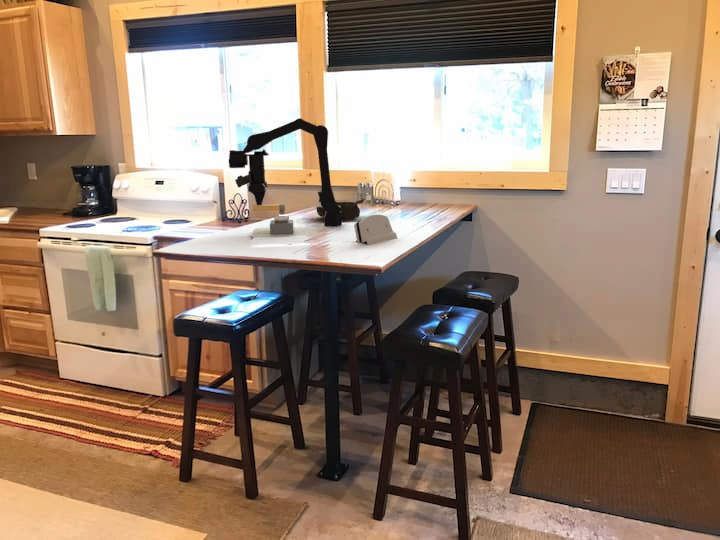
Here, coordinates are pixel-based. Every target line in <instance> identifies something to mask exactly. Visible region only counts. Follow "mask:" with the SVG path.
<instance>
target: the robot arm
mask: <svg viewBox="0 0 720 540" xmlns="http://www.w3.org/2000/svg"><path fill="white" fill-rule="evenodd" d="M299 130H301V131H304V132H306V133H308V134H311V135H313V138H314V142H315V145H316V149H317V152H318V153H317V154H318V165H319V174H320V182H321V187H320V188H321V189H320V190H318V191H317V194H318V203H320V204H321V206H322V207H323V208H324V209H326V211H327V212H325V215H324V217H323V226H324V227H342V226H343V223H342V222H343V221H342V215H341V211H340V210H341V207H340V205H339V204H338V203H337V202H338V201H336V197H335V194H334V190H333V187H332V183H331V175H330V165H329V155H328V142H329V141H328V139H329V130H328V128H327V127H326V126H325V125H323V124H321V125H320V124H319V125H316V124H314V123H311V122H309V121H306V120H304V119H303V118H301V117H299V118H297V119H295V120H293V121H290V122H288V123H285V124H283V125H282V126H278V127H276V128H274V129H271V130H268V131H264V132H260V133H254V134H251V135H249V136H248V137H247V140H246V143H247V144H246V145H245V146H244V147H243V150H234V149H233V150H229V155H228V165H229V168H230V169H245V168H246V166H248V167H249V168H248V169H249V171H248V174H246V175H244V176H243V175H241V174H240V175H238V176H237V178H236V179H235V180H234V182H235V184H236V186H237V188H242V187H243V186H246V185H247V184H248V186H247V189H248V190H247V191H248V193H251V194H252V195H253V197H254V199H255V202H256V205H263V202H264V198H265V196H266V191H267V189H266V188H267V187H268V182H267V181H266V175H265V174H266V170H265V156H269V155H270V153H268V152H267V150H266V149H265V148H263V147H265V146H267V145H268V144H269V143H271V142H272V141H274V140H276V139H280V138H282V137H284V136H287V135H289V134H291V133H294V132H296V131H299ZM262 148H263V149H262ZM260 149H262V150H260ZM258 150H260V151H258ZM253 151H254V153H251V152H253ZM248 153H249V154H248Z"/></svg>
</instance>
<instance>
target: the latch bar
mask: <svg viewBox="0 0 720 540" xmlns="http://www.w3.org/2000/svg"><path fill="white" fill-rule="evenodd" d="M279 210H285V211H286V204H283V203H282V204H262V205H257V204H254V205H252V212H267V211H268V212H270V211H279Z"/></svg>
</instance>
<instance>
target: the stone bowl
mask: <svg viewBox="0 0 720 540" xmlns="http://www.w3.org/2000/svg"><path fill="white" fill-rule="evenodd" d="M365 200H366V198H365V197H364V198H362V199H358V200H346V201H345V200H344V201H336V202H337V203H338V204H339V205H340V207H341V210H340V211H341V215H342V222H350V221H353V220H355V219H358V218H359V217H360V216H361V215H360V214H361V209H360V207H359V206H358V205H359V204H363V203H364V201H365ZM309 208H316V213H317V215H318V216H319V217H323V218H324V215H325V212H327V211H326V209H324V208H323V207H322V206H321V203H319V204H313V205H309Z"/></svg>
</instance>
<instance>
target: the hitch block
mask: <svg viewBox="0 0 720 540" xmlns="http://www.w3.org/2000/svg"><path fill="white" fill-rule="evenodd" d="M278 214H286V209H285V210H278ZM304 235H305V236H308V235H311V236H312V235H318V230H317V226H302V227H300V226H298V227H297V226H296V227H295V226H294V219H289V222H287V223H275V222H274V219H273V220H272V219H271V220H270V222H269V227H266V228H264V227H263V228H254V229H253V232H252V233H251V236H250V239H251V240H253V239H254V238H257V237H279V236H281V237H283V236H304Z"/></svg>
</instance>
